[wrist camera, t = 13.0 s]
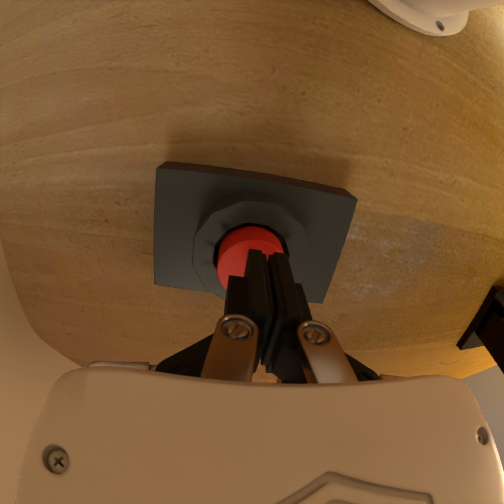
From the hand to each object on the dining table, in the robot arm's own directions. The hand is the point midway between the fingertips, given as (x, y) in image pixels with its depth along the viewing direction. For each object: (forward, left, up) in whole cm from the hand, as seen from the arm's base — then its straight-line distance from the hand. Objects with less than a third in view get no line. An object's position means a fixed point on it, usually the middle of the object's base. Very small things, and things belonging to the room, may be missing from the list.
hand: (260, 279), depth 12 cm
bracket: (+35, -8, -7) cm, 36 cm away
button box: (0, -1, -7) cm, 7 cm away
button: (0, -1, -3) cm, 3 cm away
